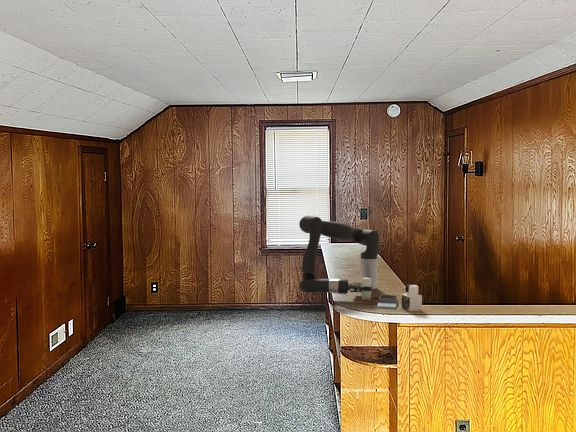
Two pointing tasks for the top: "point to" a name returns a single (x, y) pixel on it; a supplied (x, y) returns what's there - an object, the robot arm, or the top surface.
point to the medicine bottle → (411, 298)
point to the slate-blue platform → (387, 305)
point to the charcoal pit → (388, 299)
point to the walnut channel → (372, 301)
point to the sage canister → (366, 294)
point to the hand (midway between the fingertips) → (371, 287)
